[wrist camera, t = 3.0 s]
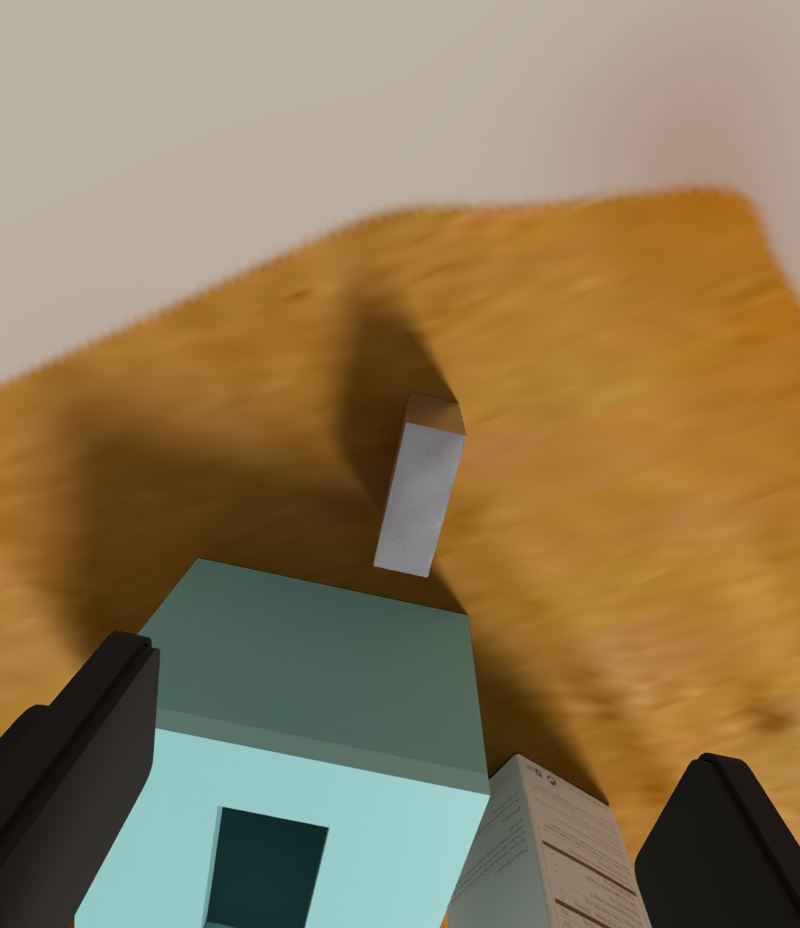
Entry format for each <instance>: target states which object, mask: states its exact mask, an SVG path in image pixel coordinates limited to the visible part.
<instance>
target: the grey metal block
mask: <svg viewBox="0 0 800 928" xmlns="http://www.w3.org/2000/svg"><path fill="white" fill-rule="evenodd" d="M465 439H466V431H465V427H464V423H463V419H462V415H461V411H460V407H459V403H456V402H451V401H447V400H442V399H438V398H434V397H429V396H425V395H420V394H416V393H411V392H410V395H409V399H408V404H407V408H406V413H405V417H404V421H403V426H402V430H401V434H400V439H399V443H398V448H397V452H396V456H395V461H394V465H393V470H392V474H391V478H390V483H389V487H388V491H387V496H386V500H385V505H384V509H383V514H382V519H381V525H380V530H379V536H378V542H377V547H376V553H375V558H374V564H373V566H376V567H380V568H385V569H390V570H394V571H399V572H404V573H408V574H413V575H418V576H422V577H427V578H428V575H429V571H430V567H431V564H432V560H433V556H434V553H435V549H436V545H437V542H438V538H439V534H440V531H441V527H442V523H443V520H444V516H445V512H446V509H447V505H448V501H449V498H450V494H451V490H452V487H453V483H454V480H455V476H456V472H457V469H458V465H459V461H460V458H461V454H462V450H463V447H464V443H465Z"/></svg>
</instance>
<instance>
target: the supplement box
mask: <svg viewBox="0 0 800 928" xmlns="http://www.w3.org/2000/svg"><path fill="white" fill-rule="evenodd" d="M489 788H490V798H489V801H488V803H487V806H486V808H485V811H484V814H483V816H482V819H481V821H480V824H479V827H478V829H477V832H476V834H475V837H474V840H473V842H472V845H471V847H470V850H469V853H468V855H467V858H466V860H465V863H464V866H463V868H462V871H461V873H460V876H459V879H458V881H457V884H456V886H455V889H454V891H453V894H452V897H451V899H450V902H449V904H448V907H447V910H448V928H652V927H651V924H650V921H649V918H648V915H647V912H646V909H645V906H644V903H643V900H642V897H641V894H640V891H639V888H638V885H637V882H636V877H635V872H634V869H633V867H632V864H631V861H630V858H629V855H628V852H627V849H626V847H625V844H624V841H623V838H622V835H621V832H620V830H619V827H618V824H617V821H616V818H615V816H614V813H613V811H612V809H611V808H609V807H608V806H606V805H605V804H603V803H602V802H600V801H599V800H597V799H595V798H594V797H592V796H590V795H588V794H587V793H585V792H584V791H582V790H580V789H578V788H577V787H575V786H573V785H571V784H570V783H568V782H567V781H565V780H563V779H562V778H560V777H558V776H556V775H555V774H553V773H551V772H550V771H548V770H546V769H545V768H543V767H541V766H539V765H538V764H536V763H534V762H532V761H531V760H529V759H527V758H525V757H523V756H522V755H520V754H515V755H514V756H513V757H512V758H511V759H510V760H509V761H508V762H507V763H506V764H505V765H504V766H503V767H502V768H501V769H500V770H499V771H498V772H497V773H496V774H495V775H494V776H493V777H492V778H490V779H489Z"/></svg>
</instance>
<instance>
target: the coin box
mask: <svg viewBox="0 0 800 928" xmlns="http://www.w3.org/2000/svg"><path fill="white" fill-rule="evenodd" d="M137 635H141V636H145V637H149V638H151V641H152V647H153V648H158V649H159V650H160V667H159V682H158V697H157V712H156V727H155V741H154V756H153V764H152V768H151V771H150V774H149V777H148V780H147V782H146V784H145V786H144V788H143V790H142V792H141V793H140V795H139V797H138V799H137V801H136V803H135V805H134V806H133V808H132V810H131V812H130V814H129V816H128V818H127V819H126V821H125V823H124V825H123V827H122V829H121V831H120V832H119V834H118V836H117V838H116V840H115V842H114V844H113V845H112V847H111V849H110V851H109V853H108V855H107V857H106V858H105V860H104V862H103V864H102V866H101V868H100V869H99V871H98V873H97V875H96V877H95V879H94V881H93V882H92V884H91V886H90V888H89V890H88V892H87V894H86V895H85V897H84V899H83V901H82V903H81V905H80V907H79V908H78V910H77V912H76V914H75V928H440V925H441V923H442V920H443V917H444V915H445V912H446V910H447V907H448V904H449V902H450V899H451V897H452V894H453V891H454V889H455V886H456V884H457V881H458V879H459V876H460V873H461V871H462V868H463V866H464V863H465V860H466V858H467V855H468V853H469V850H470V847H471V845H472V842H473V840H474V837H475V834H476V832H477V829H478V827H479V824H480V821H481V819H482V816H483V814H484V811H485V808H486V806H487V803H488V801H489V798H490V788H489V780H488V772H487V764H486V756H485V748H484V740H483V731H482V723H481V715H480V707H479V699H478V691H477V683H476V675H475V667H474V659H473V651H472V643H471V635H470V627H469V618H468V615H465V614H460V613H455V612H451V611H446V610H441V609H437V608H432V607H427V606H422V605H418V604H413V603H408V602H403V601H399V600H394V599H389V598H385V597H380V596H375V595H370V594H366V593H361V592H356V591H352V590H347V589H342V588H337V587H333V586H328V585H323V584H319V583H314V582H309V581H304V580H300V579H295V578H290V577H285V576H281V575H276V574H271V573H267V572H262V571H257V570H252V569H248V568H243V567H238V566H234V565H229V564H224V563H219V562H215V561H210V560H205V559H200V558H197V560H196V561H195V562H194V563H193V565H192V566H191V567H190V568H189V570H188V571H187V572H186V574H185V575H184V576H183V577H182V579H181V580H180V581H179V582H178V584H177V585H176V586H175V587H174V589H173V590H172V591H171V593H170V594H169V595H168V596H167V598H166V599H165V600H164V601H163V603H162V604H161V605H160V606H159V608H158V609H157V610H156V612H155V613H154V614H153V615H152V617H151V618H150V619H149V620H148V622H147V623H146V624H145V625H144V627H143V628H142V629H141V631H140V632H139V633H138V634H137Z"/></svg>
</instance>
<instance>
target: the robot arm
mask: <svg viewBox="0 0 800 928" xmlns="http://www.w3.org/2000/svg"><path fill="white" fill-rule="evenodd" d="M159 667H160V650H159V649H158V648H153V647H152V641H151V638H149V637H145V636H141V635H136V634H131V633H126V632H121V631H114V632H112V633H111V634H110V635H109V636H108V637H107V638H106V639H105V641H104V642H103V643H102V644H101V645H100V647H99V648H98V649H97V650H96V651H95V652H94V654H93V655H92V656H91V657H90V658H89V659H88V661H87V662H86V663H85V664H84V665H83V666H82V668H81V669H80V670H79V671H78V672H77V674H76V675H75V676H74V677H73V678H72V679H71V681H70V682H69V683H68V684H67V685H66V686H65V688H64V689H63V690H62V691H61V692H60V694H59V695H58V696H57V697H56V698H55V699H54V701H53V702H52V703H51V704H50V705H49V706H46V705H34V706H32V707H30V708H29V709H27V710H26V711H25V712H24V713H23V714H22V715H21V716H20V717H19V718H18V719H17V720H16V721H15V722H14V723H13V724H12V725H11V726H10V728H9V729H8V730H7V731H6V732H5V733H4V734H3V735H2V736H1V738H0V928H68V927H69V925H70V923H71V921H72V920H73V918H74V916H75V914H76V912H77V910H78V908H79V907H80V905H81V903H82V901H83V899H84V897H85V895H86V894H87V892H88V890H89V888H90V886H91V884H92V882H93V881H94V879H95V877H96V875H97V873H98V871H99V869H100V868H101V866H102V864H103V862H104V860H105V858H106V857H107V855H108V853H109V851H110V849H111V847H112V845H113V844H114V842H115V840H116V838H117V836H118V834H119V832H120V831H121V829H122V827H123V825H124V823H125V821H126V819H127V818H128V816H129V814H130V812H131V810H132V808H133V806H134V805H135V803H136V801H137V799H138V797H139V795H140V793H141V792H142V790H143V788H144V786H145V784H146V782H147V780H148V777H149V774H150V771H151V768H152V764H153V756H154V741H155V727H156V712H157V697H158V682H159ZM635 877H636V882H637V885H638V888H639V891H640V894H641V897H642V900H643V903H644V906H645V909H646V912H647V915H648V918H649V921H650V924H651V927H652V928H800V846H799V845H798V843H797V841H796V840H795V838H794V837H793V835H792V834H791V832H790V830H789V829H788V827H787V826H786V824H785V823H784V821H783V819H782V818H781V816H780V815H779V813H778V812H777V810H776V808H775V807H774V805H773V804H772V802H771V801H770V799H769V797H768V796H767V794H766V793H765V791H764V790H763V788H762V786H761V785H760V783H759V782H758V780H757V779H756V777H755V775H754V774H753V772H752V771H751V769H750V768H749V767H748V765H747V764H746V763H745V762H743V761H742V760H740V759H736V758H731V757H726V756H721V755H717V754H712V753H704V754H701V756H700V757H699V758H698V759H697V760H696V759H695V760H693V761H691V763H690V764H689V765H688V767H687V769H686V771H685V772H684V774H683V776H682V778H681V780H680V781H679V783H678V785H677V787H676V788H675V790H674V792H673V794H672V795H671V797H670V799H669V801H668V802H667V804H666V806H665V808H664V809H663V811H662V813H661V815H660V816H659V818H658V820H657V822H656V823H655V825H654V827H653V829H652V831H651V832H650V834H649V836H648V838H647V839H646V841H645V843H644V845H643V846H642V848H641V850H640V852H639V853H638V855H637V858H636V861H635Z"/></svg>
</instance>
